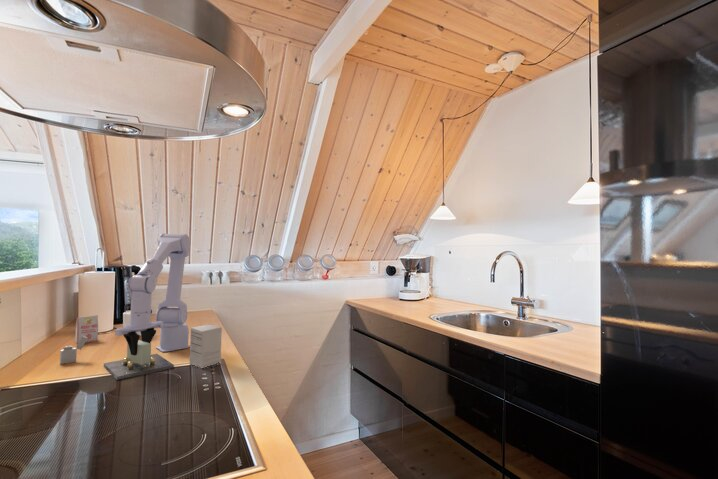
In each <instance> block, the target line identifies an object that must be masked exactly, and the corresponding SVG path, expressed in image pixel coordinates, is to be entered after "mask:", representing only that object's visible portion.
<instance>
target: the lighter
mask: <svg viewBox="0 0 718 479" xmlns="http://www.w3.org/2000/svg"><path fill="white" fill-rule="evenodd" d="M87 339H88V338H87V337H85V336H82V338H81V340H80V341H79V343H78V344H76V346H75V347H73V345H68V346H67V345H66V346H65V347H63V349H60V352H59V353H60V354H59V364H60V365H64V363H65V364H69V363H70V364H71V363H74V362H77V350H80V351H81V350H82V349H83V348H84V345H85V343H87V342H86V340H87Z"/></svg>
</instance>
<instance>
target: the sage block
mask: <svg viewBox="0 0 718 479" xmlns="http://www.w3.org/2000/svg"><path fill="white" fill-rule="evenodd" d="M151 355H152V342H151V343H147V342H143V341H142V340H140V339H139V340H138V345H137V355H131V352H130V348H129V345H128V343H127V349H126V357H128V361H133V362H135V363H138V364H145V363H149V362H151Z"/></svg>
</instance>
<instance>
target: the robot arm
mask: <svg viewBox="0 0 718 479" xmlns="http://www.w3.org/2000/svg"><path fill="white" fill-rule="evenodd" d="M190 249H191V238H190V237H189V235H188V234H184V233H183V234H179V233H177V234H176V233H175V234H173V233H161V234H160V235H159V236H158V239H157V249H156V250H155V252H154V254H153V256H152V257H151V258H149V259H147V260H146V261H145V262H144V264H143V265H142V267H140V270H139V271H138V273H137V274H134V275H133V276H131V277H130V278H129V279H128V282H127V285H126V287H127V290H128V293H129V294H128V295H129V298H130V311H131V318H130V325H129V326H125V327H124V326H122V327H118V328H115V329H114V334H115V335H114V336H118V337H120V336H123V337H124V338H125V340H126V342H127V344H128V345H129V348H130V352H131V355H137V345H138V340H140V337H141V341H143V342H147V343H151V344H152V340H153V338H154V337H155V335H156V334H157V330H156V329H160V335H159V336H160V339H159V345H158V346H155V348H156V349H157V350H159V351H161V352H162V353H166V352H172V351H177V350H182V349H188V348H189V349H190V345H189V339H190V338H189V335H190V331H189V326H188V324H187V323H186V321H187V319H188V305H187V304H186V303H185V302H184V301H183V300H182V299H181V294H182V289H183V288H182V287H183V286H182V285H183V280H184V270H185V263H186V262H185V261H186V257H188V256H189V255H190ZM167 258H170V264H169V273H168V279H167V285H166V286H167V287H166V295H165V296H166V297H165V299H164V300H163V301H162V302H160V303H159V304H158V305H157V306H158V308H157V310H156V313H155V321H152V322H151V319H152V318H151V317H152V295H153V294H152V293H153V292H154V291H155V289H156V285H157V282H158V276H160V274H161V273H162V271H163V269H164V265H163V263H164V262H165V261H166V259H167ZM139 331H140V332H141V336H140V335H138V334H137V333H136V332H139Z"/></svg>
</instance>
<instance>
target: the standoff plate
mask: <svg viewBox="0 0 718 479" xmlns="http://www.w3.org/2000/svg"><path fill="white" fill-rule="evenodd" d="M103 367H104V369H106V371H107V372H109V373H110V375H111V376H112V377H113V378H115V380H116V381H119V380H123V379H129V378H133V377H139V376H143V375H147V374H151V373H157V372H161V371H165V370H166V369H167V370H171V369H174V368H175V365H174V364H173V363H172V362H170V361H169V360H168V359H166V358H164V357H163V356H162V355H161V354H159V353H153V354H152V353H151V362H149V363H145V364H138V363H135V362H133V361H128V357H127V356H126V357H123V358H122V359H119V360H115V361H109V362H103ZM170 368H171V369H170ZM167 370H166V371H167Z"/></svg>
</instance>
